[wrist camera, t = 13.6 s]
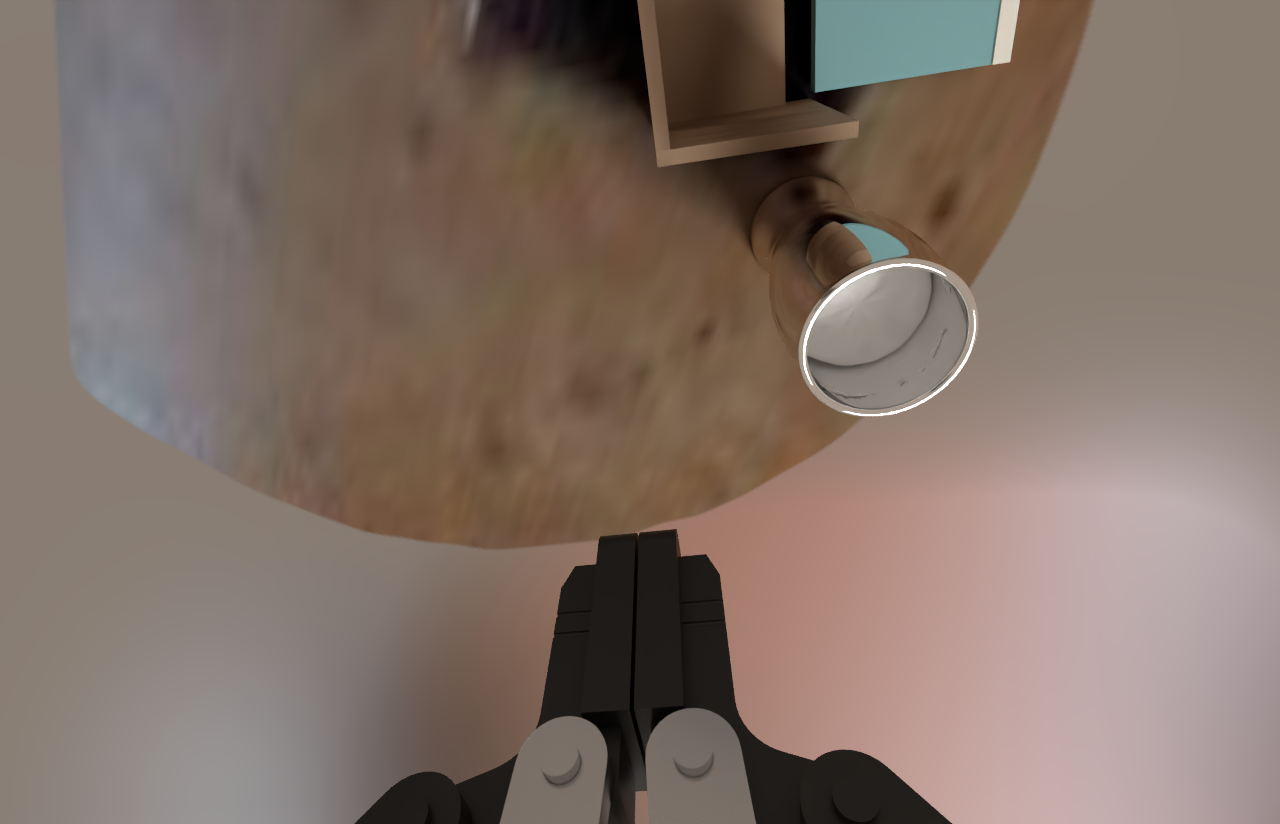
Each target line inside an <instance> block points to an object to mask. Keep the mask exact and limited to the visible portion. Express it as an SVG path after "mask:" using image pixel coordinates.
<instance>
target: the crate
mask: <svg viewBox="0 0 1280 824" xmlns="http://www.w3.org/2000/svg"><path fill="white" fill-rule="evenodd" d="M637 2H638V10H639V19H640V27H641V35H642V43H643V51H644V59H645V68H646V76H647V84H648V92H649V100H650V108H651V117H652V125H653V133H654V141H655V149H656V157H657V166H658V167H663V166H670V165H676V164H683V163H689V162H696V161H703V160H709V159H716V158H723V157H729V156H736V155H742V154H749V153H756V152H762V151H769V150H776V149H782V148H789V147H795V146H802V145H809V144H815V143H822V142H829V141H835V140H842V139H848V138H855V137H858V127H859V121H858V120H856V119H854V118H852V117H849V116H847V115H845V114H843V113H840V112H838V111H836V110H834V109H831V108H829V107H827V106H825V105H823V104H820V103H818V102H816V101H814V100H811V99H803V100H796V101H790V102H785V36H784V0H637Z"/></svg>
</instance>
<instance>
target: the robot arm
mask: <svg viewBox="0 0 1280 824" xmlns="http://www.w3.org/2000/svg"><path fill="white" fill-rule="evenodd" d="M557 614H558V617H557V618H556V624H555V630H554V638H553V642H552V648H551V654H550V660H549V666H548V672H547V679H546V684H545V690H544V697H543V703H542V709H541V715H540V719H539V722H538V725H537V727H536V730H535V731H534V732H532V734H531V735H530V736H529V737H528V738H527V739H526V741H525V742H524V744H523V745H522V747H521V749H520V751H519V753H518V754H517V755H515V756H514V757H513V758H512V759H511V760H509V761H508V762H506V763H504V764H503V765H501V766H499V767H497V768H495V769H492V770H490V771H488V772H485V773H483V774H480V775H478V776H476V777H473V778H471V779H468V780H466V781H464V782H462V783H459V784H456V785H455V784H454V783H453V782H452V780H451V779H449V778H448V777H447V776H445V775H443V774H441V773H437V772H422V773H417V774H414V775H411V776H409V777H407V778H405V779H403V780H401V781H400V782H398V783H397V784H395V785H394V786H393V787H391V788H390V789H389V790H388V791H387V792H386V793H385V794H384V795H383V796H382V797H381V798H380V799H379V800H378V801H377V802H376V803H375V804H374V805H373V806H372V807H371V808H370V809H369V810H368V811H367V812H366V813H365V814H364V815H363V816H362V817H361V818H360V819H359V820H358V821H357V822H356V823H355V824H635V791H647V793H648V810H649V824H952V823H950V822H949V821H948V820H947V819H946V818H945V817H944V816H943V815H941V814H940V813H939V812H938V811H937V810H936V809H935V808H934V807H932V806H931V805H930V804H929V803H928V802H927V801H925V800H924V799H923V798H922V797H921V796H920V795H919V794H918V793H916V792H915V791H914V790H913V789H912V788H911V787H910V786H908V785H907V784H906V783H905V782H904V781H903V780H902V779H900V778H899V777H898V776H897V775H896V774H895V773H894V772H892V771H891V770H890V769H889V768H888V767H886V766H885V765H884V764H883V763H881V762H880V761H878V760H877V759H875V758H873V757H871V756H869V755H867V754H864V753H862V752H858V751H853V750H836V751H831V752H828V753H825V754H823V755H821V756H820V757H818V758H817V759H816V760H814V761H813V760H810V759H806V758H803V757H799V756H796V755H792V754H788V753H785V752H782V751H779V750H776V749H774V748H772V747H769V746H768V745H766V744H764V743H763V742H761V741H760V740H759V739H757V738H756V737H755V736H754V735H753V734H752V733H751V732H750V731H749V730H748V729H747V727H746V726H745V725H744V723H743V721H742V720H741V718H740V716H739V713H738V710H737V708H736V703H735V696H734V688H733V680H732V672H731V664H730V655H729V648H728V639H727V631H726V623H725V615H724V606H723V598H722V590H721V582H720V574H719V573H718V571H717V570H716V568H715V567H714V565H713V564H712V562H711V561H710V560H709V558H708V557H707V555H706V554H705V555H694V556H683V557H681V553H680V546H679V540H678V534H677V530H676V529H673V530H662V531H652V532H641V533H639V536H638V534H637V533H632V534H622V535H611V536H601V537H600V539H599V543H598V553H597V562H596V564H595V565H584V566H575V568H574V569H573V571H572V572H571V574H570V575H569V577H568V579H567V580H566V582H565V583H564V585H563V586H562V588H561V593H560V599H559V605H558V612H557Z"/></svg>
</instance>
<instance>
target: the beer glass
mask: <svg viewBox="0 0 1280 824" xmlns="http://www.w3.org/2000/svg"><path fill="white" fill-rule="evenodd" d="M751 244H752V249H753V252H754V255H755V257H756V259H757V261H758V262H759V264H760V265H761V266H762V268H763V269H764V270H765V271H766V272H767V273H768V274H769V297H770V305H771V312H772V316H773V319H774V322H775V325H776V328H777V331H778V334H779V336H780V338H781V340H782V342H783V344H784V346H785V348H786V350H787V352H788V354H789V356H790V357H791V359H792V361H793V362H794V364H795V366H796V367H797V369H798V370H799V372H800V373H801V375H802V377H803V379H804V382H805V383H806V385H807V387H808V388H809V390H810V391H811V392H812V393H813V394H814V396H815V397H816V398H818V399H819V400H820V401H821V402H822V403H824V404H825V405H827V406H828V407H830V408H832V409H834V410H836V411H839V412H842V413H845V414H848V415H853V416H860V417H880V416H887V415H892V414H896V413H900V412H904V411H906V410H909V409H912V408H914V407H916V406H918V405H920V404H922V403H924V402H926V401H927V400H929V399H931V398H932V397H934V396H935V395H937V394H938V393H939V392H941V391H942V390H943V389H944V388H945V387H946V386H948V384H950V383H951V382H952V381H953V380H954V379H955V377H956V376H957V375H958V374H959V372H960V371H961V370H962V368H963V367H964V365H965V364H966V362H967V360H968V359H969V357H970V355H971V353H972V350H973V348H974V345H975V342H976V338H977V333H978V310H977V306H976V302H975V299H974V297H973V295H972V293H971V291H970V289H969V288H968V286H967V285H966V283H965V282H964V281H963V280H962V279H961V278H960V277H959V276H958V275H957V274H955V273H954V272H953V271H952V270H951V268H950V267H949V266H948V265H947V264H946V263H945V261H944V260H943V259H942V258H941V257H940V256H939V255H938V254H937V253H936V252H935V251H934V250H933V249H932V248H931V247H930V246H929V245H928V244H927V243H926V242H925V241H924V240H923V239H921V238H920V237H919V236H918V235H917V234H915V233H914V232H912V231H911V230H909V229H908V228H906V227H905V226H903V225H902V224H900V223H899V222H897V221H895V220H893V219H891V218H889V217H886V216H883V215H881V214H878V213H876V212H873V211H869V210H865V209H861V208H857V207H855V206H854V203H853V201H852V200H851V198H850V196H849V195H848V194H847V192H846V191H845V190H844V189H843V188H842V187H841V186H839V185H838V184H836V183H835V182H833V181H831V180H828V179H825V178H821V177H802V178H797V179H794V180H791V181H788V182H786V183H784V184H782V185H781V186H779V187H778V188H776V189H775V190H774V191H772V192H771V193H770V194H769V195H768V196H767V197H766V198H765V200H764V201H763V202H762V204H761V205H760V207H759V209H758V210H757V212H756V215H755V217H754V220H753V224H752V229H751Z"/></svg>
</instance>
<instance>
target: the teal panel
mask: <svg viewBox="0 0 1280 824" xmlns="http://www.w3.org/2000/svg"><path fill="white" fill-rule="evenodd" d="M1019 2H1020V0H811V91H813V92H820V91H827V90H833V89H839V88H846V87H852V86H858V85H865V84H871V83H878V82H884V81H890V80H897V79H903V78H909V77H916V76H922V75H928V74H935V73H941V72H947V71H954V70H960V69H966V68H973V67H979V66H985V65H993V64H1000V63H1006V62H1010V59H1011V52H1012V46H1013V40H1014V33H1015V27H1016V21H1017V15H1018V8H1019Z"/></svg>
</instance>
